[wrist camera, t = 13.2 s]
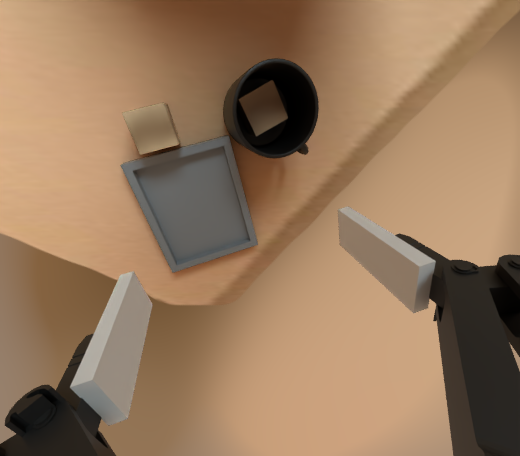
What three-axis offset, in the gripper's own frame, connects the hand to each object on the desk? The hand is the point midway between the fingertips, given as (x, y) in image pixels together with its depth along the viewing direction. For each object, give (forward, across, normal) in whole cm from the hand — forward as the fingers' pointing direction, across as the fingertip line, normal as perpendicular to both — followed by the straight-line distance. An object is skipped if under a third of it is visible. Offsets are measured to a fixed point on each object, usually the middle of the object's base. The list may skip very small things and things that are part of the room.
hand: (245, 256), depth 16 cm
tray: (+23, -4, -4) cm, 23 cm away
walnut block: (+23, +7, +7) cm, 25 cm away
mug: (+23, +8, +5) cm, 25 cm away
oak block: (+23, -6, +8) cm, 25 cm away
